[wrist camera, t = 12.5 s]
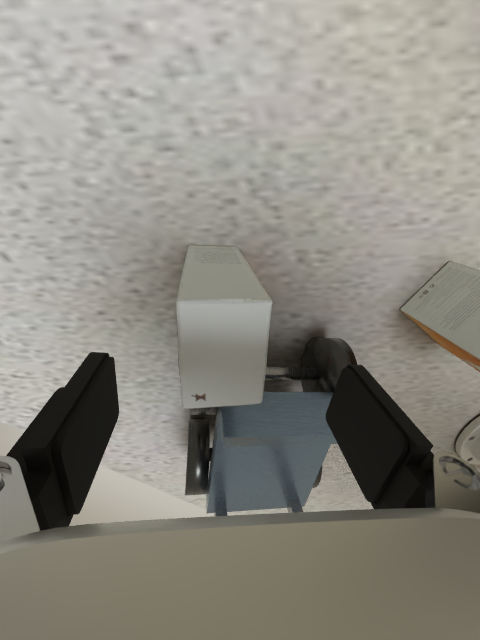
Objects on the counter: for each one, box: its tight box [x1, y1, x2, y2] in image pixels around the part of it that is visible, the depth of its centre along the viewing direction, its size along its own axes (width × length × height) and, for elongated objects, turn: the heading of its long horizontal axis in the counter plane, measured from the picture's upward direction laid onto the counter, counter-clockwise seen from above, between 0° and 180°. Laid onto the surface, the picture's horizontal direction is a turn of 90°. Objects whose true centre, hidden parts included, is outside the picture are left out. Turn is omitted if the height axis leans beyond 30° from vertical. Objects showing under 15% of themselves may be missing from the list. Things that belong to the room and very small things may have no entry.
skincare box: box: [176, 245, 272, 409], centre depth 17 cm, size 6×4×12 cm
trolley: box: [185, 337, 357, 516], centre depth 19 cm, size 13×18×21 cm
